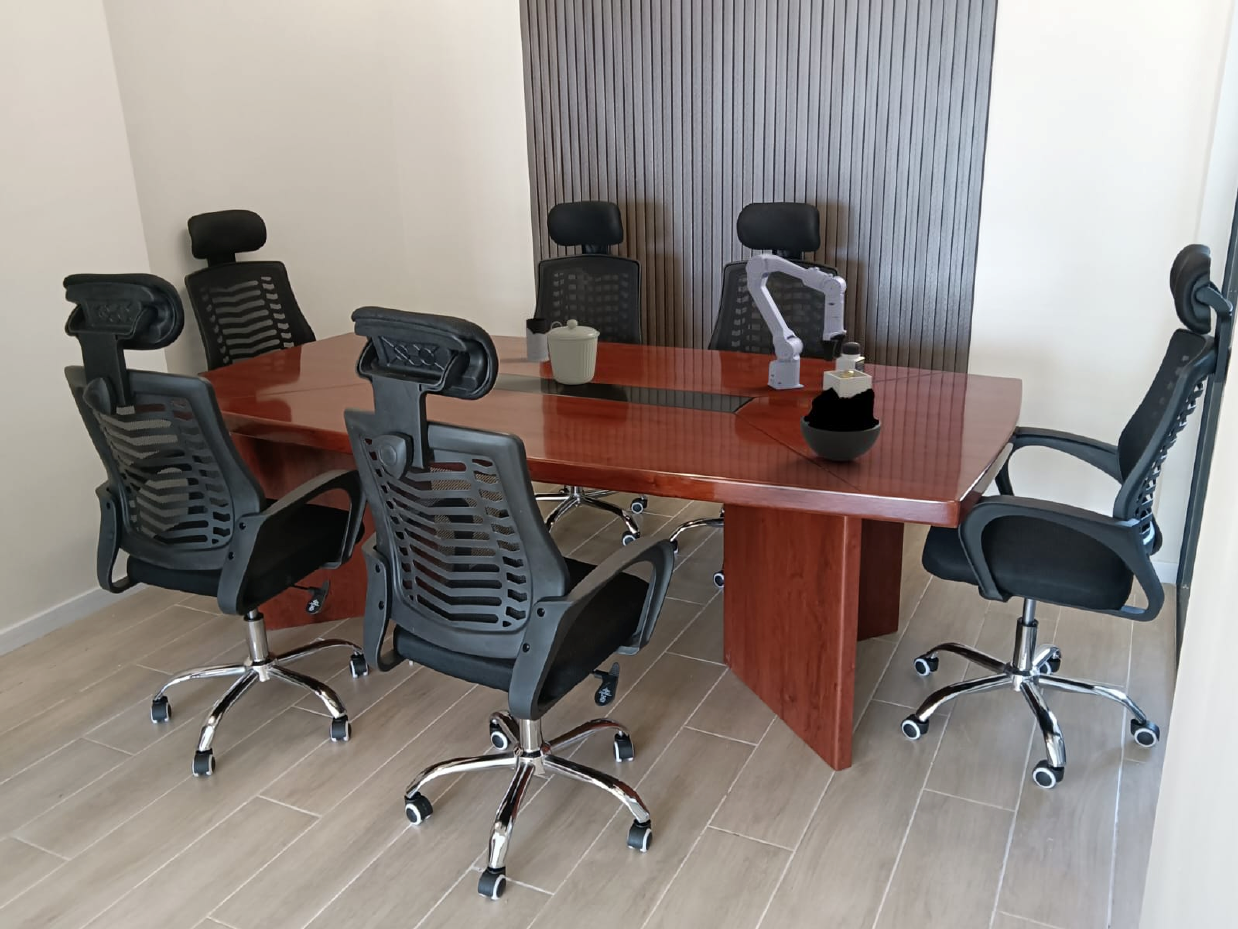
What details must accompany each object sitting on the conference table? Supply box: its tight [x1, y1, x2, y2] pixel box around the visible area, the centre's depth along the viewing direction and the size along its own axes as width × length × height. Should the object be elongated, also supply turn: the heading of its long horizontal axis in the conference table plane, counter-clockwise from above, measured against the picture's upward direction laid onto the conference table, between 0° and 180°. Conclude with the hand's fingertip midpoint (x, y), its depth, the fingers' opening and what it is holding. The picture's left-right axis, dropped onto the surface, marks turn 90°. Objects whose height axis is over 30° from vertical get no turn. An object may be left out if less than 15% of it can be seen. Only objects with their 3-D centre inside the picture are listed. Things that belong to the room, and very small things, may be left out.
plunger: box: [842, 370, 854, 378], centre depth 320 cm, size 9×9×5 cm
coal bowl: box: [799, 387, 882, 462], centre depth 252 cm, size 20×20×19 cm
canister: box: [545, 319, 601, 385], centre depth 338 cm, size 18×18×21 cm
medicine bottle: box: [835, 342, 866, 373], centre depth 337 cm, size 7×7×12 cm
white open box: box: [822, 369, 873, 398], centre depth 320 cm, size 11×11×6 cm
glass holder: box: [525, 317, 563, 363], centre depth 374 cm, size 9×14×15 cm, turn 107°
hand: (832, 358), depth 320 cm, fingers open, 7 cm apart
